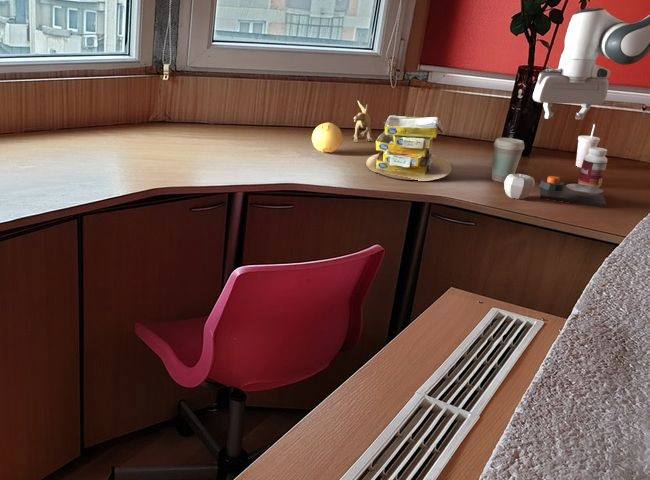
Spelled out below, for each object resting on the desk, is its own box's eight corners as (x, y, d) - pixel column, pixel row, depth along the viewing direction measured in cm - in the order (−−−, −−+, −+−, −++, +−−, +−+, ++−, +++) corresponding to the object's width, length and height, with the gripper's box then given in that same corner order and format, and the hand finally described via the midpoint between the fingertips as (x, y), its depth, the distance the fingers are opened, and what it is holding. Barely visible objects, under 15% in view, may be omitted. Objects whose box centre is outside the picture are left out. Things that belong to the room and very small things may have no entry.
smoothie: (588, 170, 231) (599, 126, 226) (567, 165, 236) (578, 123, 231) (595, 167, 236) (606, 124, 230) (575, 163, 240) (585, 121, 235)
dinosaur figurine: (349, 146, 250) (354, 107, 245) (352, 132, 274) (357, 96, 269) (371, 148, 249) (377, 109, 244) (373, 134, 272) (378, 98, 267)
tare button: (557, 182, 204) (559, 176, 204) (558, 185, 202) (559, 179, 201) (546, 181, 205) (547, 175, 205) (546, 183, 203) (548, 177, 202)
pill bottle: (574, 181, 217) (583, 145, 213) (595, 183, 216) (605, 147, 212) (581, 187, 211) (591, 150, 207) (603, 188, 210) (613, 151, 206)
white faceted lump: (504, 200, 194) (509, 176, 192) (497, 192, 202) (502, 169, 199) (535, 203, 193) (540, 179, 191) (527, 195, 200) (533, 172, 198)
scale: (600, 195, 203) (602, 185, 202) (605, 208, 191) (608, 197, 190) (538, 187, 209) (540, 177, 208) (539, 199, 197) (542, 188, 196)
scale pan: (600, 188, 198) (601, 186, 198) (604, 196, 191) (604, 194, 190) (564, 184, 201) (565, 182, 201) (566, 191, 194) (567, 189, 194)
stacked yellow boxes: (435, 186, 205) (445, 128, 198) (353, 171, 217) (360, 116, 211) (458, 170, 224) (469, 117, 217) (382, 157, 236) (389, 106, 230)
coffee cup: (515, 185, 210) (524, 144, 205) (484, 180, 214) (492, 140, 209) (518, 179, 217) (527, 139, 212) (488, 174, 220) (496, 135, 216)
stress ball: (308, 153, 237) (311, 123, 233) (312, 147, 246) (316, 118, 242) (338, 157, 234) (342, 126, 230) (342, 151, 243) (345, 121, 239)
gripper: (547, 69, 196) (535, 120, 201) (616, 71, 198) (603, 121, 203) (534, 66, 201) (523, 116, 207) (601, 69, 204) (589, 117, 209)
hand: (563, 119), depth 205 cm, fingers open, 8 cm apart
